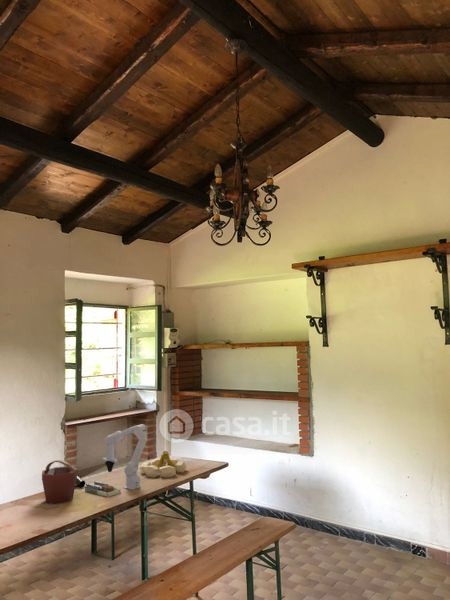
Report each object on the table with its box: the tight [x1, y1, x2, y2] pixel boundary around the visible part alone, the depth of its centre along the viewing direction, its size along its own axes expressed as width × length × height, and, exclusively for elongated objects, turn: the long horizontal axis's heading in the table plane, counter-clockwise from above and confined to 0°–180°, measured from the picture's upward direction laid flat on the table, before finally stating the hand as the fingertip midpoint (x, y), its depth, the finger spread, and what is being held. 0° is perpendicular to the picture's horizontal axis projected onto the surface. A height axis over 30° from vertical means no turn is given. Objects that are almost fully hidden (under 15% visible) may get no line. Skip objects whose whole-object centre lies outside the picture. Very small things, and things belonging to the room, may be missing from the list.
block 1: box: [101, 484, 110, 492], centre depth 317 cm, size 4×4×4 cm
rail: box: [84, 480, 109, 495], centre depth 323 cm, size 14×10×4 cm
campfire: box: [139, 450, 188, 478], centre depth 369 cm, size 35×34×17 cm
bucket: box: [41, 459, 79, 505], centre depth 306 cm, size 24×22×25 cm
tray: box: [96, 487, 121, 498], centre depth 316 cm, size 11×11×2 cm
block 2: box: [105, 485, 115, 493], centre depth 315 cm, size 4×4×4 cm
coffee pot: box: [75, 475, 86, 488], centre depth 331 cm, size 8×18×8 cm
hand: (109, 471), depth 334 cm, fingers closed
